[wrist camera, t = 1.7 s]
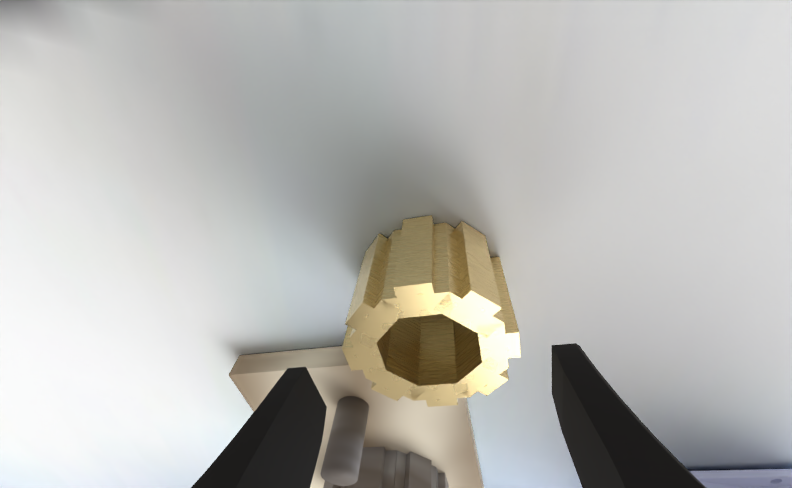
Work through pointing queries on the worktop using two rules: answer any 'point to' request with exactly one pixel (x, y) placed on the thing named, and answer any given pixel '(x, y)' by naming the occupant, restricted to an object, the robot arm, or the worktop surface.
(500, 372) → the brass gear
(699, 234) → the worktop surface
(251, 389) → the gear board
